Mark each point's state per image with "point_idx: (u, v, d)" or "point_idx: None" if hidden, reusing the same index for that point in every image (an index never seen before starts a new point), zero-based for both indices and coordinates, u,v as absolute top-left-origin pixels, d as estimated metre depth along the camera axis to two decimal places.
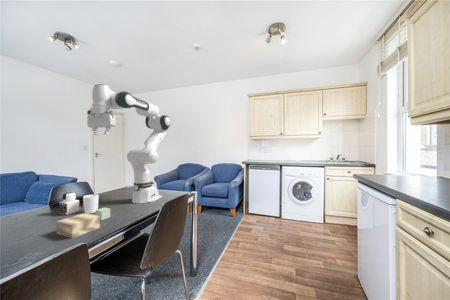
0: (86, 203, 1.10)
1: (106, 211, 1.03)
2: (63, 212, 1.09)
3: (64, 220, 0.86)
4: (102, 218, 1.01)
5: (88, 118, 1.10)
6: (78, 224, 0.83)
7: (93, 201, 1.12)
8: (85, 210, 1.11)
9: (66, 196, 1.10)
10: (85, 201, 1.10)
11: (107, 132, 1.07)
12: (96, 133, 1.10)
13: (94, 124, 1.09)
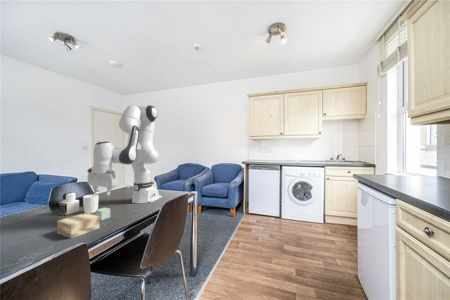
0: (86, 203, 1.10)
1: (106, 211, 1.03)
2: (63, 212, 1.09)
3: (64, 220, 0.86)
4: (102, 218, 1.01)
5: (88, 176, 1.05)
6: (77, 224, 0.82)
7: (93, 201, 1.12)
8: (85, 210, 1.11)
9: (66, 196, 1.10)
10: (85, 201, 1.10)
11: (108, 193, 1.01)
12: (96, 192, 1.05)
13: (95, 183, 1.03)
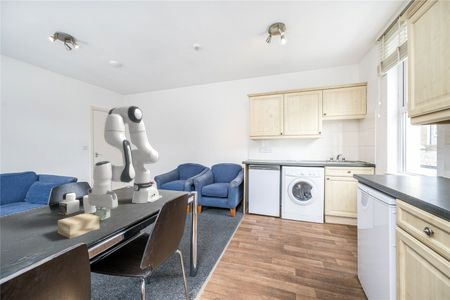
0: (86, 203, 1.10)
1: None
2: (63, 212, 1.09)
3: (65, 220, 0.86)
4: (102, 218, 1.01)
5: (89, 196, 1.05)
6: (76, 224, 0.82)
7: None
8: (85, 210, 1.11)
9: (66, 196, 1.10)
10: (85, 201, 1.10)
11: (107, 213, 1.02)
12: None
13: (95, 203, 1.04)
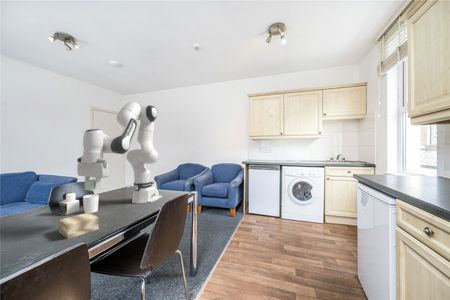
0: (86, 203, 1.10)
1: None
2: (63, 212, 1.09)
3: (65, 219, 0.87)
4: (91, 188, 0.94)
5: (78, 166, 0.98)
6: (74, 225, 0.82)
7: (93, 201, 1.12)
8: (85, 210, 1.11)
9: (66, 196, 1.10)
10: (85, 201, 1.10)
11: (97, 183, 0.95)
12: None
13: (85, 173, 0.96)
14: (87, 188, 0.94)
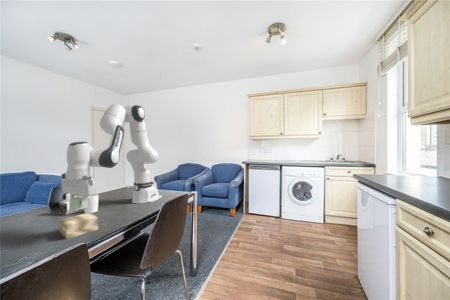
0: None
1: None
2: (63, 212, 1.09)
3: (66, 219, 0.87)
4: (77, 208, 0.85)
5: (63, 182, 0.89)
6: (73, 225, 0.82)
7: (93, 201, 1.12)
8: (85, 210, 1.11)
9: (66, 196, 1.10)
10: None
11: (83, 202, 0.87)
12: None
13: (70, 191, 0.88)
14: (72, 207, 0.86)
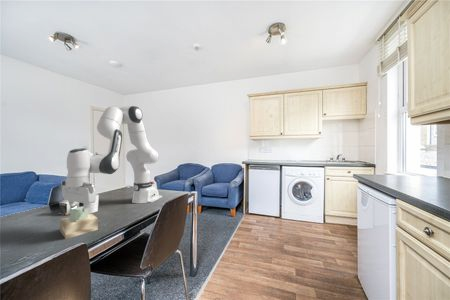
0: None
1: None
2: (63, 212, 1.09)
3: (66, 219, 0.87)
4: (77, 219, 0.85)
5: (63, 189, 0.89)
6: (72, 225, 0.82)
7: None
8: None
9: None
10: None
11: (86, 209, 0.86)
12: (73, 207, 0.90)
13: (70, 198, 0.88)
14: (73, 218, 0.86)
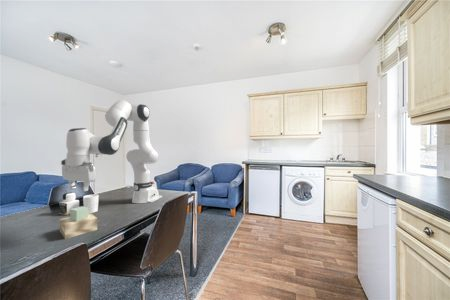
0: (86, 203, 1.10)
1: (83, 211, 0.87)
2: (63, 212, 1.09)
3: (65, 219, 0.87)
4: (77, 219, 0.85)
5: (63, 169, 0.89)
6: (72, 225, 0.82)
7: (93, 201, 1.12)
8: None
9: (66, 196, 1.10)
10: (85, 201, 1.10)
11: (86, 188, 0.86)
12: (73, 187, 0.90)
13: (70, 177, 0.88)
14: (73, 218, 0.86)
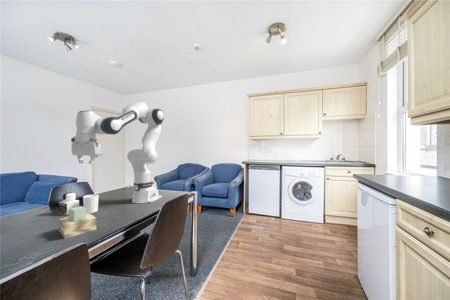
0: (86, 203, 1.10)
1: (81, 210, 0.87)
2: (63, 212, 1.09)
3: (65, 219, 0.88)
4: (75, 219, 0.85)
5: (72, 146, 1.04)
6: (71, 225, 0.82)
7: (93, 201, 1.12)
8: None
9: (66, 196, 1.10)
10: (85, 201, 1.10)
11: (92, 161, 1.01)
12: (81, 161, 1.04)
13: (78, 152, 1.03)
14: (71, 218, 0.86)
